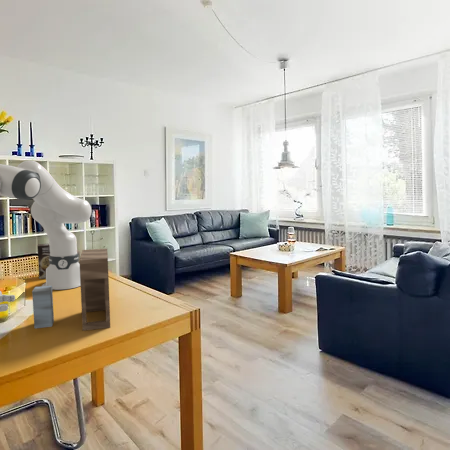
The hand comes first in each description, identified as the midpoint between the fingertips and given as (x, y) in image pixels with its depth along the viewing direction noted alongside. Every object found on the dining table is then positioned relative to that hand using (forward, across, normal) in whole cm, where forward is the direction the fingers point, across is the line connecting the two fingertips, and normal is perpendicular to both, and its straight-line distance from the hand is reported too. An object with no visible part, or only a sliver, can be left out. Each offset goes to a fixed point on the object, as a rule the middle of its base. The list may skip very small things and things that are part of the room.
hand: (11, 302), depth 113 cm
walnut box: (+25, 0, +8) cm, 26 cm away
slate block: (+9, 0, +8) cm, 12 cm away
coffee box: (+2, +67, +8) cm, 68 cm away
